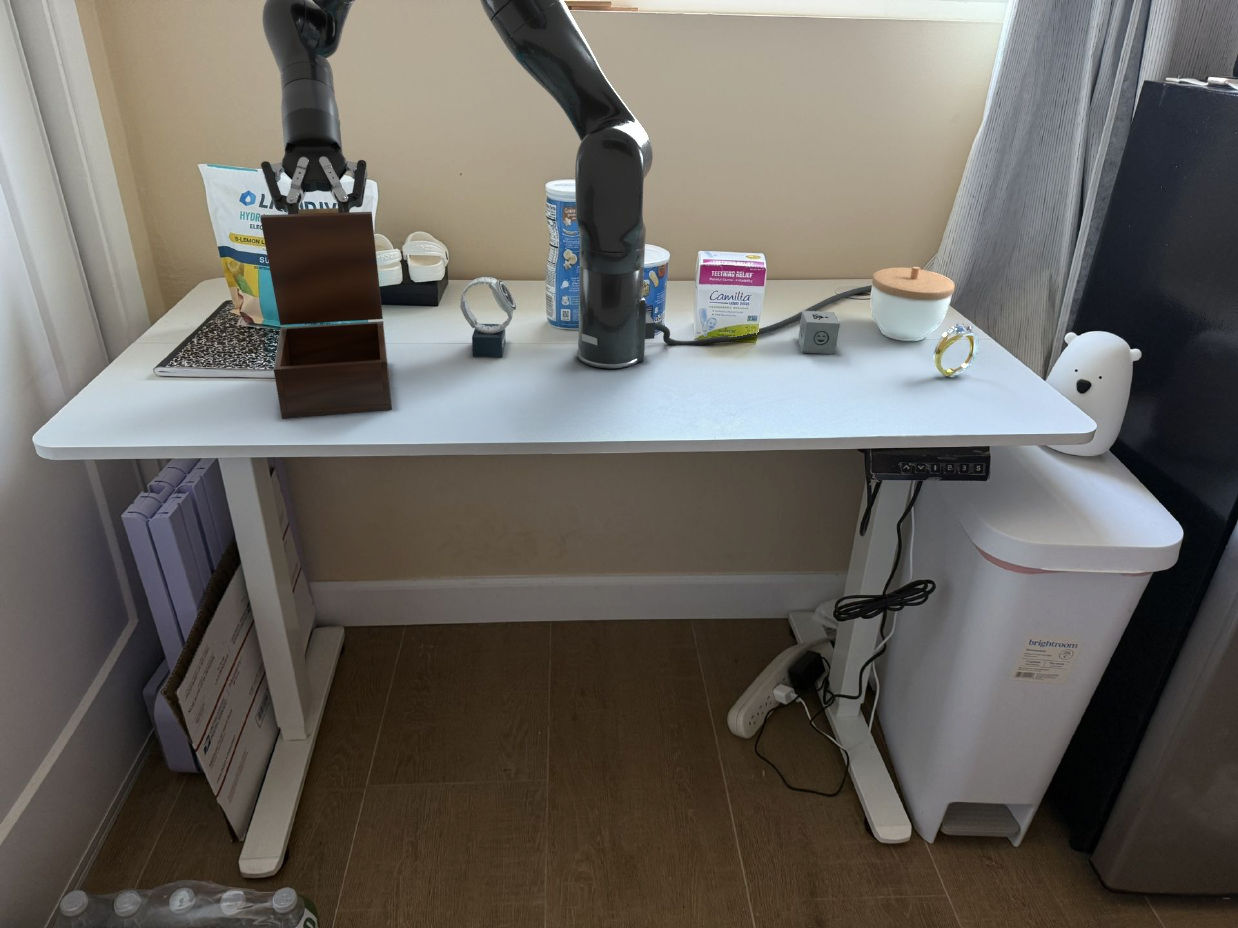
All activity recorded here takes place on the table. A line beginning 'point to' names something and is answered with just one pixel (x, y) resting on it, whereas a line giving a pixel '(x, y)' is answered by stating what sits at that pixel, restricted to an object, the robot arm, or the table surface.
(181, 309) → the table surface
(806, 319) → the dice cube
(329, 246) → the lid
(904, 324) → the lidded bowl
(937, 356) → the ring
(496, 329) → the watch
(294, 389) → the case
